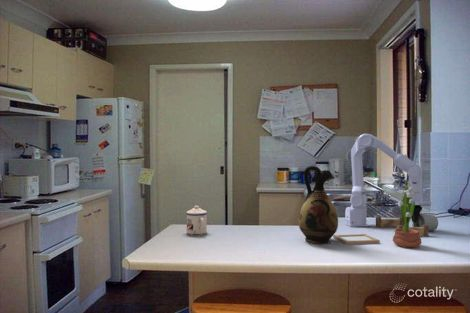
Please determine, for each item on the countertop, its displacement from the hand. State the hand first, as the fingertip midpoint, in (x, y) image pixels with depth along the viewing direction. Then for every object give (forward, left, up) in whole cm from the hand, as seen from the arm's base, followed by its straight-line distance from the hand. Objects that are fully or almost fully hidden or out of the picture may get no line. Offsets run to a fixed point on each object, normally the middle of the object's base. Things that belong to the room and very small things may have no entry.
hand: (414, 222), depth 172 cm
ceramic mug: (+5, +1, -4) cm, 6 cm away
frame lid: (-34, -16, -4) cm, 38 cm away
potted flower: (-18, -26, -4) cm, 32 cm away
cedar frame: (-6, 0, -4) cm, 7 cm away
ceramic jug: (-50, -15, -4) cm, 52 cm away
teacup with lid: (-97, +2, -4) cm, 97 cm away
